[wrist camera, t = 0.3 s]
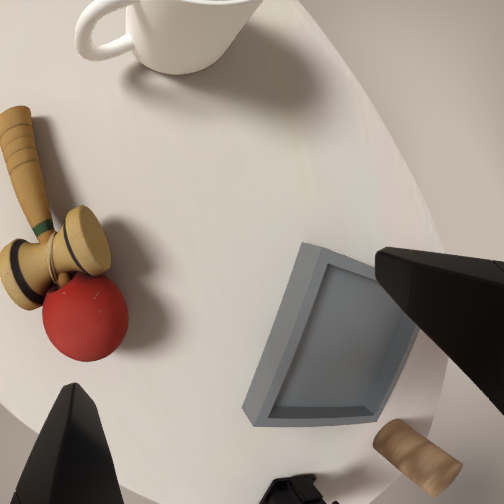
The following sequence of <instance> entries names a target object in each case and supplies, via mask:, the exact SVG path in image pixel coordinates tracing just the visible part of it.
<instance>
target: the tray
mask: <svg viewBox="0 0 504 504" xmlns="http://www.w3.org/2000/svg"><path fill="white" fill-rule="evenodd" d="M419 329H420V328H419V327H418V326H417V325H416V324H415V323H414V322H413V321H412V320H411V319H410V318H409V317H408V316H407V315H406V314H405V313H404V312H403V311H402V309H401V308H400V307H399V306H398V305H397V304H396V302H395V301H394V300H393V299H392V298H391V297H390V295H389V294H388V293H387V292H386V291H385V290H384V289H383V287H382V286H381V285H380V284H379V283H378V282H377V280H376V278H375V267H372V266H369V265H367V264H364V263H362V262H359V261H357V260H354V259H352V258H349V257H346V256H344V255H341V254H339V253H336V252H333V251H331V250H328V249H326V248H323V247H320V246H315V245H311V244H307V243H303V242H302V244H301V247H300V250H299V253H298V256H297V259H296V262H295V265H294V268H293V271H292V274H291V277H290V279H289V282H288V285H287V288H286V291H285V294H284V297H283V300H282V302H281V305H280V308H279V311H278V314H277V316H276V319H275V322H274V325H273V327H272V330H271V333H270V336H269V338H268V341H267V344H266V346H265V349H264V352H263V354H262V357H261V360H260V362H259V365H258V368H257V370H256V373H255V375H254V378H253V381H252V383H251V386H250V388H249V391H248V393H247V396H246V398H245V401H244V403H243V406H242V409H243V410H244V412H245V414H246V415H247V417H248V419H249V420H250V422H251V423H252V425H253V427H316V426H335V425H349V424H360V423H370V422H377V420H378V418H379V417H380V415H381V413H382V411H383V409H384V407H385V405H386V403H387V401H388V399H389V397H390V395H391V393H392V391H393V389H394V387H395V385H396V383H397V381H398V379H399V376H400V374H401V372H402V370H403V368H404V365H405V363H406V361H407V358H408V356H409V354H410V351H411V349H412V346H413V344H414V342H415V339H416V337H417V334H418V331H419Z"/></svg>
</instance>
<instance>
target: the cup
mask: <svg viewBox="0 0 504 504" xmlns="http://www.w3.org/2000/svg"><path fill="white" fill-rule="evenodd" d="M262 2H263V0H95V1H93V2H92V3H91V4H90V5H89V6H88V7H87V8H86V9H85V10H84V11H83V13H82V14H81V16H80V18H79V20H78V22H77V25H76V29H75V45H76V49H77V51H78V53H79V54H80V55H81V56H82V57H83V58H84V59H86V60H89V61H103V60H107V59H110V58H113V57H116V56H119V55H121V54H124V53H126V52H128V51H131V52H132V54H133V55H134V56H135V58H136V59H137V60H138V61H139V62H141V63H142V64H143V65H145V66H146V67H148V68H150V69H152V70H155V71H157V72H161V73H166V74H188V73H193V72H197V71H200V70H202V69H204V68H206V67H208V66H210V65H211V64H213V63H214V62H215V61H217V60H218V59H219V58H220V57H221V56H222V55H223V54H224V52H225V51H226V50H227V48H228V47H229V46H230V44H231V43H232V41H233V40H234V39H235V37H236V36H237V34H238V33H239V32H240V30H241V29H242V28H243V26H244V25H245V24H246V22H247V21H248V20H249V18H250V17H251V16H252V14H253V13H254V12H255V10H256V9H257V8H258V7H259V5H260V4H261V3H262ZM123 7H126V35H124V36H122V37H121V38H119V39H117V40H115V41H113V42H110V43H108V44H105V45H102V46H95V45H94V44H93V42H92V33H93V29H94V27H95V25H96V23H97V22H98V20H99V19H100V18H102V17H103V16H105V15H106V14H108V13H110V12H113V11H115V10H118V9H121V8H123Z"/></svg>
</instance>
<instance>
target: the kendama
mask: <svg viewBox="0 0 504 504" xmlns="http://www.w3.org/2000/svg"><path fill="white" fill-rule="evenodd" d="M32 128H33V127H32V119H31V112H30V109H29V108H28V107H26V106H15V107H12V108H9V109H7V110H5V111H4V112H2V113H1V114H0V146H1V149H2V152H3V156H4V159H5V163H6V166H7V169H8V172H9V175H10V178H11V182H12V185H13V188H14V190H15V193H16V196H17V198H18V201H19V203H20V205H21V207H22V210H23V212H24V214H25V216H26V218H27V220H28V222H29V224H30V226H31V228H32V230H33V231H34V233H35V235H36V237H37V239H38V241H39V243H35V244H34V243H30V242H27V241H26V240H24V239H15V240H14V241H12V242H11V243H9V244H8V245H7V246H5V247H4V248H3V250H2V251H1V253H0V277H1V281H2V283H3V286H4V288H5V290H6V292H7V293H8V295H9V296H10V298H11V299H12V300H13V301H14V302H15V303H16V304H17V305H18V306H19V307H21V308H23V309H25V310H34V309H36V308H39V307H41V306H43V309H42V315H43V324H44V328H45V331H46V334H47V335H48V337H49V339H50V341H51V342H52V344H53V345H54V346H55V347H56V348H57V349H58V350H59V351H60V352H61V353H63V354H64V355H66V356H67V357H69V358H72V359H74V360H77V361H82V362H91V361H96V360H100V359H102V358H105V357H107V356H108V355H110V354H111V353H112V352H114V351H115V350H116V349H117V348H118V346H119V345H120V344H121V342H122V340H123V339H124V337H125V334H126V332H127V328H128V310H127V305H126V302H125V300H124V297H123V295H122V293H121V292H120V290H119V289H118V287H117V286H116V285H115V284H114V283H113V282H112V281H111V280H110V279H108V278H107V277H105V276H103V275H101V274H102V273H103V272H105V271H107V270H108V269H109V268H110V266H111V252H110V247H109V244H108V241H107V238H106V236H105V233H104V231H103V229H102V227H101V225H100V223H99V221H98V220H97V218H96V216H95V215H94V214H93V212H92V211H91V210H90V209H89V208H88V207H86V206H84V205H82V206H79V207H77V208H74V209H72V210H70V211H69V212H68V214H67V215H66V218H65V221H64V224H63V226H62V228H61V229H60V231H59V232H56V231H55V229H54V227H53V221H52V216H51V212H50V207H49V203H48V198H47V193H46V188H45V184H44V180H43V175H42V171H41V167H40V164H39V158H38V154H37V151H36V144H35V140H34V133H33V129H32Z"/></svg>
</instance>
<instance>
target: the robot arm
mask: <svg viewBox="0 0 504 504" xmlns="http://www.w3.org/2000/svg"><path fill="white" fill-rule="evenodd" d="M375 278H376V280H377V282H378V283H379V284H380V285H381V286H382V287H383V289H384V290H385V291H386V292H387V293H388V294H389V295H390V297H391V298H392V299H393V300H394V301H395V302H396V304H397V305H398V306H399V307H400V308H401V309H402V311H403V312H404V313H405V314H406V315H407V316H408V317H409V318H410V319H411V320H412V321H413V322H414V323H415V324H416V325H417V326H418V327H419V328H420V329H421V330H422V331H423V332H424V333H425V334H426V335H427V336H429V337H430V338H431V339H432V340H433V341H434V342H435V343H436V344H437V345H438V346H439V347H440V348H441V349H442V350H443V351H444V352H445V353H446V354H447V355H448V356H449V357H450V358H451V360H452V361H453V362H454V363H455V364H456V365H457V366H458V367H459V368H460V369H461V370H462V371H463V372H464V373H465V374H466V375H467V376H468V377H469V378H470V379H471V380H472V381H473V382H474V383H475V384H476V386H477V387H478V388H479V389H480V390H481V391H482V392H483V393H484V394H485V395H486V396H487V397H488V398H489V400H490V401H491V402H492V403H493V404H494V405H495V406H496V408H497V409H498V410H499V411H500V412H501V413H502V414H503V415H504V262H502V261H495V260H492V261H491V260H487V259H480V258H473V257H464V256H457V255H449V254H442V253H434V252H427V251H419V250H410V249H402V248H394V247H385V248H383V249H381V250H379V251H377V252H376V255H375ZM315 480H316V476H315V475H310V476H303V477H295V478H285V479H276V480H274V481H273V482H272V483H271V485H270V486H269V488H268V490H267V491H266V493H265V495H264V496H263V498H262V500H261V501H260V503H259V504H326V503H325V501H324V500H323V499H322V498H323V496H322V495H321V494H320V492H319V491H318V490H317V489H316V487H315V486H314V485H313V483H314V481H315ZM10 504H124V501H123V498H122V495H121V491H120V488H119V484H118V480H117V476H116V472H115V468H114V464H113V460H112V456H111V453H110V450H109V447H108V444H107V441H106V437H105V434H104V431H103V428H102V424H101V421H100V417H99V414H98V410H97V407H96V405H95V403H94V401H93V400H92V399H91V398H90V397H89V395H88V394H87V393H86V392H85V391H84V389H83V388H82V387H81V386H80V385H79V384H78V383H71V384H68V385H65V386H64V387H63V388H62V389H61V391H60V393H59V395H58V397H57V399H56V401H55V403H54V405H53V407H52V409H51V411H50V413H49V415H48V417H47V419H46V421H45V423H44V425H43V427H42V429H41V431H40V434H39V436H38V438H37V440H36V442H35V444H34V447H33V449H32V451H31V453H30V456H29V458H28V460H27V463H26V465H25V467H24V470H23V472H22V474H21V477H20V479H19V482H18V484H17V487H16V492H14V495H13V497H12V500H11V503H10ZM332 504H339V503H338V502H337V501H334V502H333V503H332Z"/></svg>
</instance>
